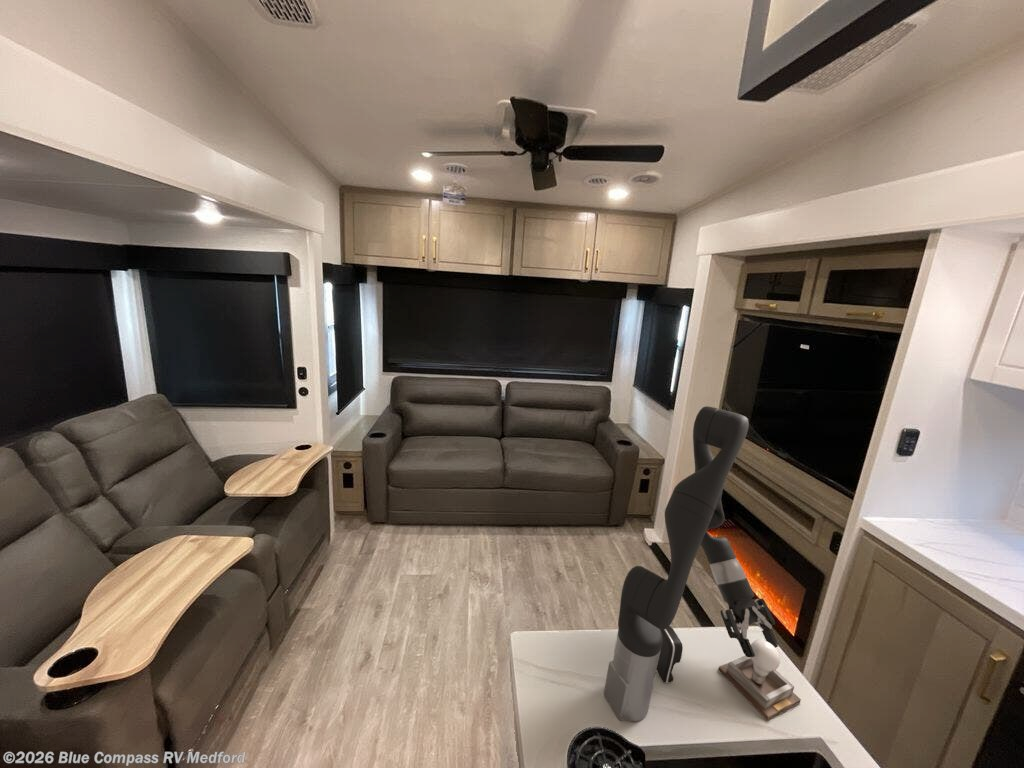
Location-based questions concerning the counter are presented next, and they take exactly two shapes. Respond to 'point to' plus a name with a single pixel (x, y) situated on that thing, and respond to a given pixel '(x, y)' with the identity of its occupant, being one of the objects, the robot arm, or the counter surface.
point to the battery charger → (669, 654)
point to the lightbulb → (764, 660)
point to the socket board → (760, 687)
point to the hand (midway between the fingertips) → (762, 652)
